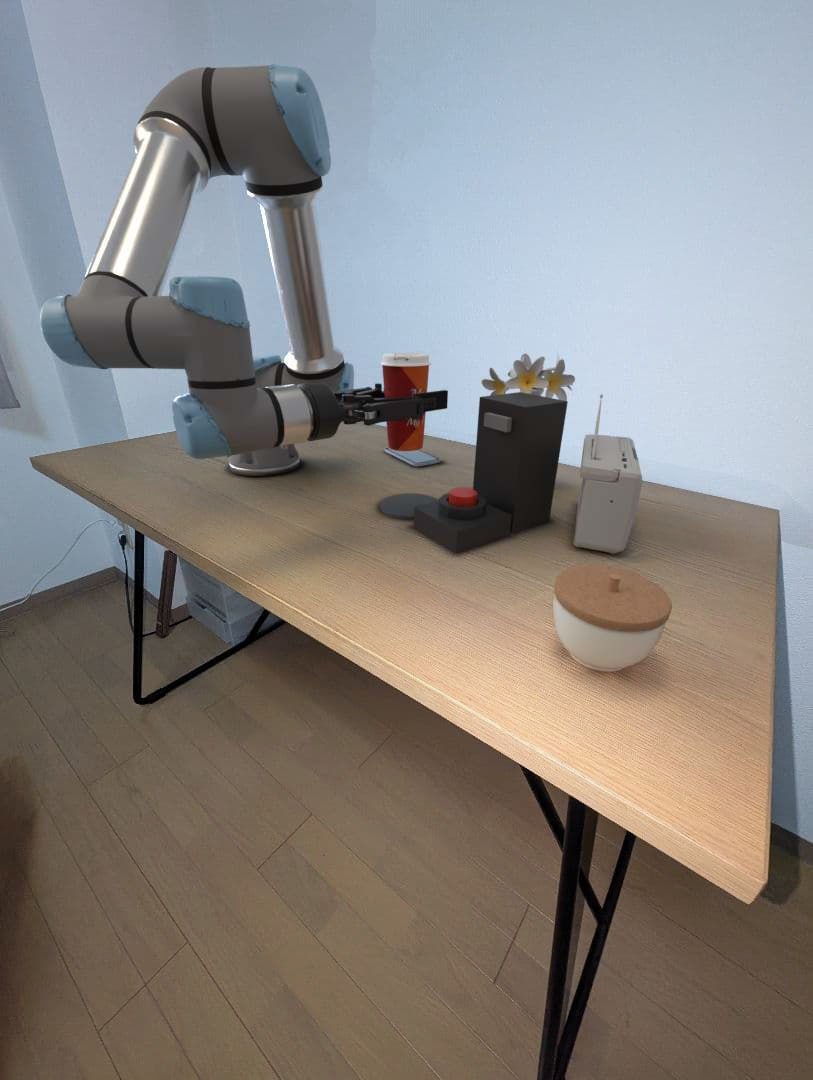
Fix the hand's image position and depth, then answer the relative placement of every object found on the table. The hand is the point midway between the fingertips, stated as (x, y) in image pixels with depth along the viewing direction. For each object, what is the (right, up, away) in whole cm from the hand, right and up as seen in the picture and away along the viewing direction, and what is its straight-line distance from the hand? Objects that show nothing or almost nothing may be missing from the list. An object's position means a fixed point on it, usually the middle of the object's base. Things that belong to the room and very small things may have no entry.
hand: (430, 396), depth 76 cm
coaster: (-3, -17, +10) cm, 20 cm away
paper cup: (-4, -8, +1) cm, 9 cm away
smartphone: (-3, -3, +38) cm, 38 cm away
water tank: (+14, -19, +6) cm, 25 cm away
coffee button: (+5, -17, -2) cm, 18 cm away
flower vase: (+20, -12, +21) cm, 31 cm away
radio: (+28, -21, +2) cm, 35 cm away
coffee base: (+5, -22, +1) cm, 22 cm away
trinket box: (+16, -35, -26) cm, 47 cm away
